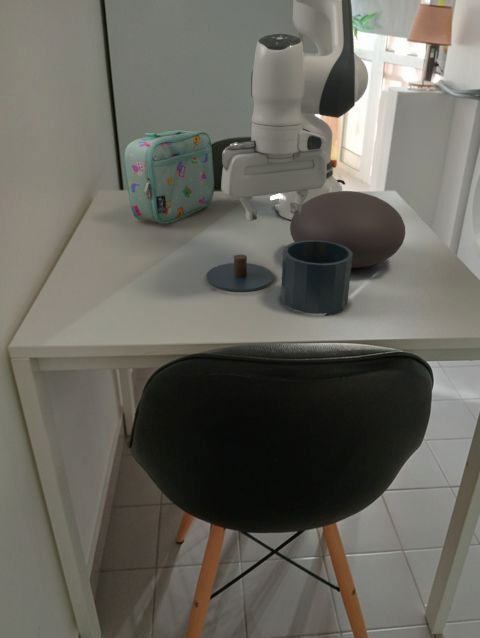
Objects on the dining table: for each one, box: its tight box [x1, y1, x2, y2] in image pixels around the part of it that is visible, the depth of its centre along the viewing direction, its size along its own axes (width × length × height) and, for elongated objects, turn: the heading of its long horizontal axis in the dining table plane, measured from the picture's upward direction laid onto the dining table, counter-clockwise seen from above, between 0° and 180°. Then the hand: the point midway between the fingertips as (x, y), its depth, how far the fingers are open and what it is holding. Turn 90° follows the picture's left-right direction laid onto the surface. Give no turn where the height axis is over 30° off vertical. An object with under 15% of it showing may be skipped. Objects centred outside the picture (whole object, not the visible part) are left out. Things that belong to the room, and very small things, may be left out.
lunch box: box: [123, 129, 215, 225], centre depth 155 cm, size 27×10×21 cm, turn 150°
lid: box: [206, 254, 275, 293], centre depth 123 cm, size 14×14×5 cm
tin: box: [280, 240, 353, 317], centre depth 114 cm, size 13×13×10 cm
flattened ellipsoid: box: [289, 190, 406, 269], centre depth 131 cm, size 25×25×15 cm
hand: (273, 216), depth 113 cm, fingers open, 8 cm apart
